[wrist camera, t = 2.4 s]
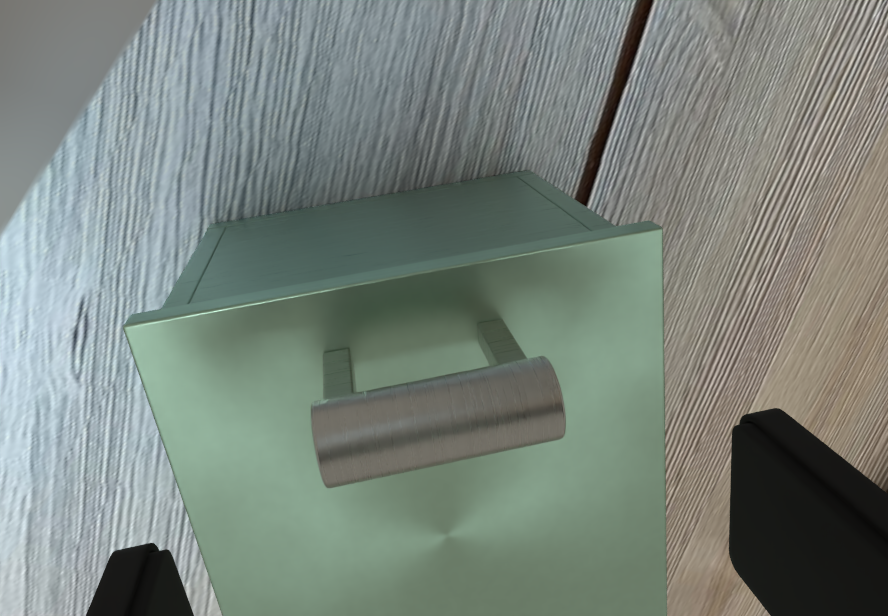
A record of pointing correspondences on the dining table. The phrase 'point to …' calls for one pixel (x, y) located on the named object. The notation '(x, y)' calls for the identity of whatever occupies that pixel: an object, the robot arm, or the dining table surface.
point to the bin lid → (427, 434)
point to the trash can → (378, 234)
